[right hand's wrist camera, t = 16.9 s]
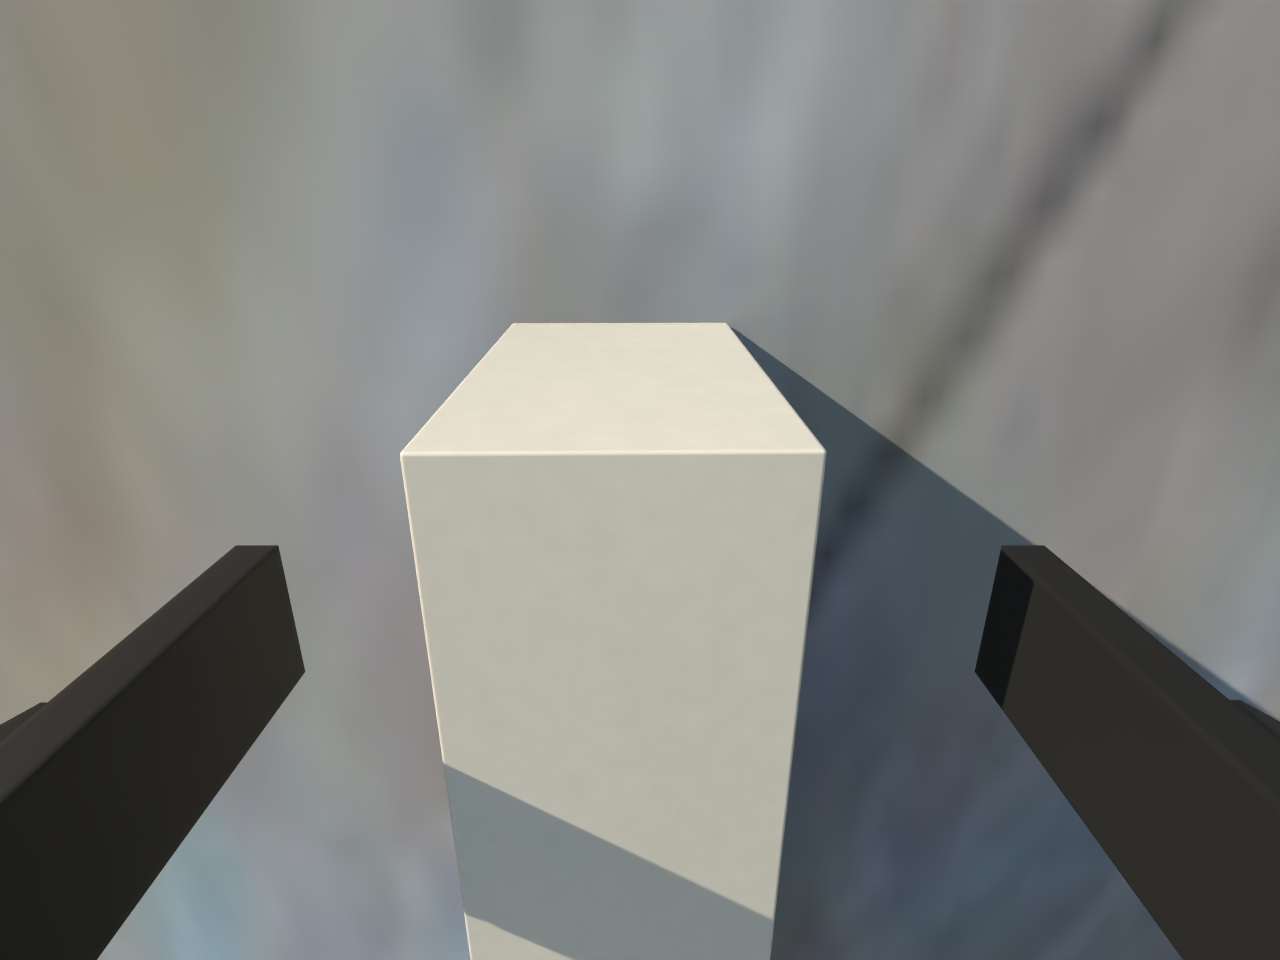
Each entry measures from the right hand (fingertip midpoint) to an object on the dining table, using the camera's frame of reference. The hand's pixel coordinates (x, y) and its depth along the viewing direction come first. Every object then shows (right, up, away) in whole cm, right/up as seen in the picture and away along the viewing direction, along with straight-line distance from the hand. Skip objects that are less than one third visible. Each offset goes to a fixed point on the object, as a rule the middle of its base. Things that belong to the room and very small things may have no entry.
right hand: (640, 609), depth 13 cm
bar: (0, -5, +9) cm, 11 cm away
